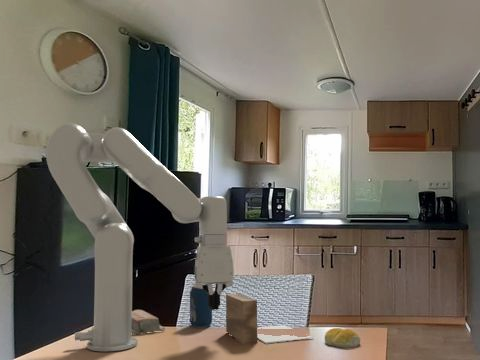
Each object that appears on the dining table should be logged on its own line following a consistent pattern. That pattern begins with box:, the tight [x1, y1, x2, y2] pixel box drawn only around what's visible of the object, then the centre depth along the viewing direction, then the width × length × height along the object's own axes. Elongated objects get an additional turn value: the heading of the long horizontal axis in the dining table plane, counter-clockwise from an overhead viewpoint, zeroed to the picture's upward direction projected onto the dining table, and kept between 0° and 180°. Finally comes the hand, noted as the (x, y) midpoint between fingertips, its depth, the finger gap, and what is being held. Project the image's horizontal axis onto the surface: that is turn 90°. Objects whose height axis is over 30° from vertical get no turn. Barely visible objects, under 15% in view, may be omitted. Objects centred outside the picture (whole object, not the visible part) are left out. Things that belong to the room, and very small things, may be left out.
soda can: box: [189, 285, 213, 329], centre depth 144 cm, size 7×7×12 cm
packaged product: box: [131, 309, 166, 335], centre depth 141 cm, size 18×5×10 cm
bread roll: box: [324, 327, 361, 349], centre depth 119 cm, size 8×9×4 cm
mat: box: [257, 324, 314, 345], centre depth 130 cm, size 14×18×1 cm
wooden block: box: [225, 293, 258, 345], centre depth 127 cm, size 4×14×11 cm, turn 20°
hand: (214, 309), depth 124 cm, fingers closed
